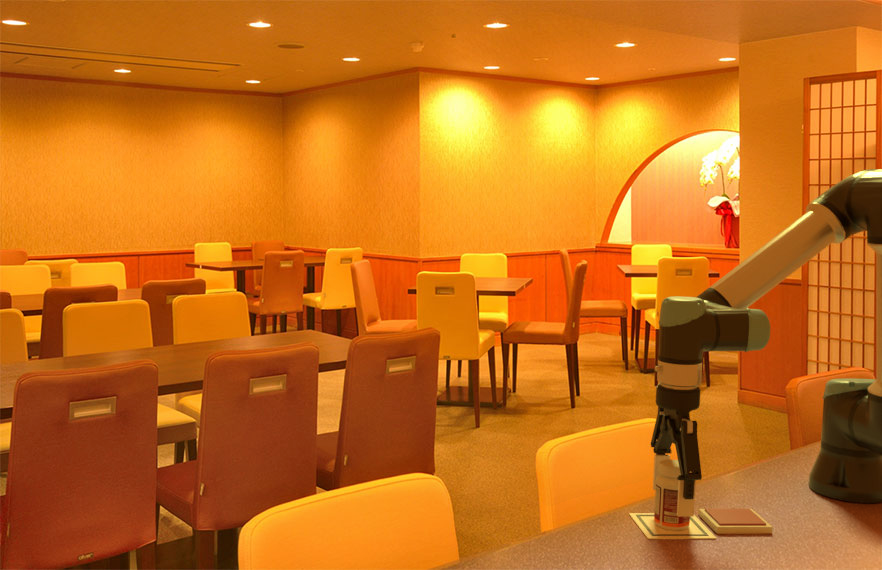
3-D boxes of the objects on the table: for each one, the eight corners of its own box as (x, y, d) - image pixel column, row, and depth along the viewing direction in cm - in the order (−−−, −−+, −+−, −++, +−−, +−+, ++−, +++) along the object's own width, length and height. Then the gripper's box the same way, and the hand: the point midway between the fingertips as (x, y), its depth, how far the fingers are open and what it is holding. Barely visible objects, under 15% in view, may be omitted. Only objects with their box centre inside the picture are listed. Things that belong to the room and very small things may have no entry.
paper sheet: (692, 514, 167) (692, 512, 167) (716, 539, 155) (716, 537, 155) (628, 514, 166) (628, 512, 166) (648, 539, 155) (648, 537, 154)
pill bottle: (696, 527, 160) (700, 465, 159) (672, 534, 157) (676, 470, 155) (670, 516, 165) (673, 456, 164) (646, 522, 162) (649, 461, 161)
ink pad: (751, 515, 168) (751, 507, 167) (772, 533, 159) (772, 525, 158) (698, 515, 167) (699, 507, 167) (716, 533, 158) (717, 525, 158)
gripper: (637, 370, 170) (632, 479, 173) (681, 401, 146) (674, 528, 148) (676, 370, 171) (670, 479, 173) (726, 401, 146) (719, 528, 148)
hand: (672, 502), depth 160 cm, fingers open, 13 cm apart
